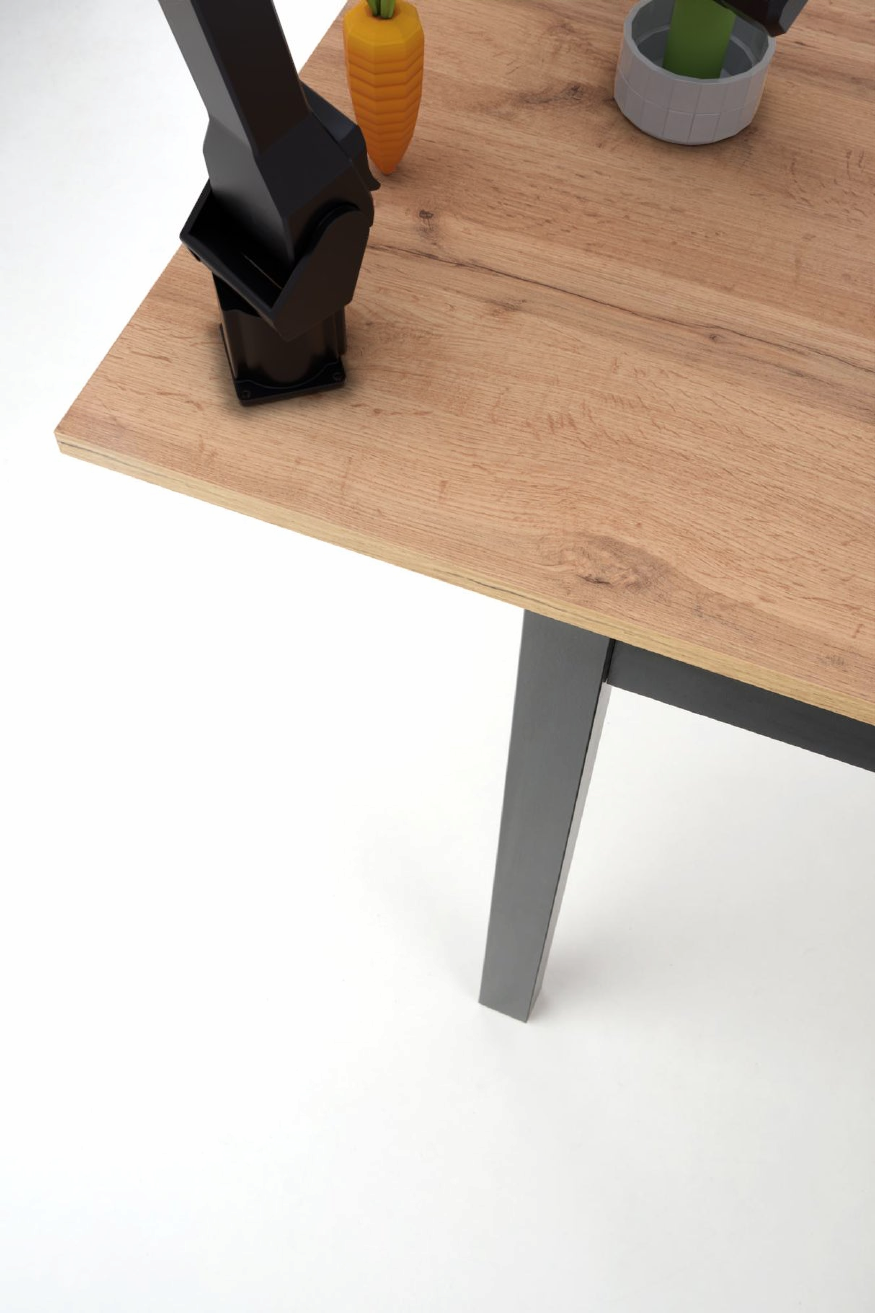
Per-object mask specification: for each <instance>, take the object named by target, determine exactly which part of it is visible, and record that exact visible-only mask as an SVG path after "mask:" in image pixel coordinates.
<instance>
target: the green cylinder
mask: <svg viewBox="0 0 875 1313" xmlns="http://www.w3.org/2000/svg"><path fill="white" fill-rule="evenodd" d="M735 17H736V14H734V13H733V12H732V11H731V10H729V9H726V8H724V7H722V6H721V5H719V4H717V3H716V2H714V1H713V0H676V1H675V6H674V11H673V16H672V20H671V25H670V30H669V35H668V39H667V44H666V49H665V54H664V59H663V63H662V68H663V69H665V70H668V71H670V72H672V73H674V74H677V75H681V76H687V77H692V78H698V79H718V78H720V74H721V71H722V67H723V63H724V59H725V55H726V51H727V47H728V44H729V40H730V36H731V32H732V28H733V24H734V21H735Z"/></svg>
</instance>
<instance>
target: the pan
mask: <svg viewBox="0 0 875 1313" xmlns="http://www.w3.org/2000/svg"><path fill="white" fill-rule="evenodd" d="M675 1H676V0H640V1H638V2H637V3H635V4H634V5H633V6H632V8H631V10H630V11H629V13H628V14H627V16H626V18H625V19H624V22H623V25H622V26H623V27H622V34H621V39H620V45H619V50H618V57H617V62H616V68H615V74H614V80H613V82H614V83H613V99H614V101H615V102H616V105H617V106H618V108H619V110H620V112H621V114H622V115H624V116H625V117H626V118H627V119H628V120H629V121H630V122H631V123H632V124H633V126H635V127H636V128H638V129H639V130H641V131H642V132H643V133H645V134H647V135H649V136H651V137H654V138H655V139H658V140H661V141H664V142H667V143H672V144H677V145H678V144H679V145H686V146H688V145H689V146H695V145H698V146H699V145H707V144H712V143H717V142H719V141H722V140H725V139H727V138H730V137H733V136H735V135H737V134H738V133H740V132H741V131H742V130H744V129H745V128H746V127H747V126H749V125H750V124H751V123H752V121H753V119H754V117H755V115H756V113H757V111H758V110H759V106H760V104H761V100H762V97H763V93H764V90H765V88H766V87H765V86H766V83H767V79H768V77H769V73H770V70H771V66H772V63H773V60H774V56H775V53H776V49H777V43H776V37H773V38H771V37H770V36H768V35H767V34H765V33H763V32H762V31H760V30H759V29H757V28H756V27H754V26H752V25H751V24H749V23H748V22H746V21H744V20H743V19H741V18H740V17H738V16H737V15H736V17H735V21H734V24H733V28H732V32H731V36H730V40H729V44H728V47H727V51H726V55H725V59H724V63H723V67H722V71H721V74H720V78H718V79H698V78H692V77H687V76H681V75H677V74H674V73H672V72H670V71H668V70H665V69H663V68H662V63H663V59H664V54H665V49H666V44H667V39H668V35H669V30H670V25H671V20H672V16H673V11H674V6H675Z"/></svg>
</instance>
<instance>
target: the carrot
mask: <svg viewBox="0 0 875 1313" xmlns="http://www.w3.org/2000/svg"><path fill="white" fill-rule="evenodd" d="M341 26H342V28H341V29H342V39H343V50H344V52H343V53H344V62H345V69H346V71H345V72H346V78H347V79H346V80H347V86H348V91H349V95H350V100H351V104H352V109H353V112H354V117H355V121H356V124H357V125H358V126H359V127H360V128H361V131H362V133H363V136H364V139H365V141H366V146H367V156H368V158H369V159H370V160H371V162H372V163H373V164H374V166H375V167H376V169H377V170H378V171H379V172H380V173H382V174H384V175H390V174H391V173H393V172H394V171H395V170H396V169H397V167H398V165H399V164H400V162H401V161H402V159H403V158H404V156H405V155H406V152H407V150H408V148H409V146H410V144H411V142H412V140H413V136H414V132H415V128H416V125H417V120H418V116H419V111H420V106H421V101H422V94H423V80H424V66H425V64H424V63H425V62H424V61H425V32H424V28H423V25H422V22H421V19H420V16H419V12H418V9H417V7H416V6H414V4H413V3H410V2H407V1H405V0H360V1H359V2H358V3H357V4H355V5H354V6H353V7H351V8H350V9H349V11H347V12H346V13H345V14H344V15H343V19H342V25H341Z"/></svg>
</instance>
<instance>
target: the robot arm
mask: <svg viewBox="0 0 875 1313" xmlns="http://www.w3.org/2000/svg"><path fill="white" fill-rule="evenodd" d="M713 1H714V2H716V3H717V4H719V5H721V6H722V7H724V8H726V9H729V10H731V11H732V12H733V13H734V14H736V15H737V16H738V17H740V18H741V19H743V20H744V21H746V22H748V23H749V24H751V25H752V26H754V27H756V28H757V29H759V30H760V31H762V32H763V33H765V34H767V35H768V36H770V37H771V38H773V37H775V38H776V37H779V36H782V35H786V34H787V33H788V31H789V30H790V28H791V27H792V26H793V24H794V23H795V21H796V20H797V18H798V17H799V15H800V14H801V12H802V11H803V9H804V8H805V7H806V5H807V4H808V2H809V0H713ZM157 2H158V4H159V6H160V9H161V11H162V13H163V15H164V18H165V19H166V23H167V25H168V26H169V29H170V31H171V34H172V35H173V38H174V40H175V43H176V44H177V47H178V48H179V51H180V54H181V55H182V58H183V60H184V62H185V65H186V67H187V69H188V71H189V73H190V75H191V78H192V80H193V82H194V85H195V87H196V89H197V92H198V94H199V96H200V98H201V100H202V102H203V105H204V108H205V109H206V113H207V116H208V123H207V126H206V130H205V133H204V139H203V142H202V155H203V159H204V163H205V166H206V171H207V175H208V178H207V181H206V183H205V184H204V186H203V187H202V190H201V192H200V194H199V195H198V198H197V200H196V201H195V203H194V205H193V206H192V210H191V211H190V213H189V215H188V216H187V218H186V221H185V222H184V224H183V226H182V228H181V230H180V232H179V236H178V238H179V240H180V242H181V243H182V244H183V246H184V247H185V248H186V249H187V251H188V252H189V253H190V255H191V256H192V258H194V259H195V260H196V261H197V262H199V263H202V264H203V265H204V266H205V267H206V268H207V269H208V270H209V271H210V272H211V277H212V280H213V286H214V291H215V296H216V302H217V306H218V307H217V308H218V311H219V316H220V324H219V332H220V336H221V340H222V345H223V348H224V352H225V355H226V359H227V363H228V368H229V371H230V376H231V379H232V383H233V387H234V391H235V395H236V399H237V402H238V404H239V405H241V406H242V407H249V406H254V405H260V404H265V403H269V402H274V401H278V400H279V401H280V400H285V399H289V398H294V397H299V396H304V395H309V394H314V393H315V394H316V393H319V392H325V391H329V390H334V389H340V388H342V387H344V386H345V385H346V384H347V374H346V370H345V367H344V364H343V361H342V357H341V356H345V355H346V354H347V352H348V338H347V326H346V324H347V323H346V309H345V307H346V306H348V305H350V303H351V302H352V301H353V298H354V294H355V291H356V288H357V283H358V280H359V276H360V271H361V269H362V265H363V260H364V256H365V252H366V249H367V245H368V241H369V237H370V231H371V228H372V227H373V226H374V221H375V212H376V209H375V200H374V196H373V195H372V192H374V191H379V190H380V188H381V187H382V183H381V182H380V181H379V180H378V179H377V178H375V177H374V175H373V173H372V171H371V168H370V165H369V164H370V163H369V155H368V153H367V146H366V141H365V139H364V136H363V133H362V131H361V128H360V127H359V126H358V125H357V122H354V121H353V119H351V118H349V117H348V116H347V115H346V114H345V113H343V112H342V111H341V110H340V109H338V108H337V107H336V106H335V105H333V104H332V103H331V102H329V100H327V99H326V98H325V97H323V96H322V95H320V94H319V92H317V91H315V90H314V89H313V88H312V87H311V86H309V84H307V83H305V82H304V80H302V79H300V76H299V73H298V70H297V68H296V64H295V61H294V57H293V55H292V52H291V49H290V46H289V44H288V41H287V37H286V34H285V31H284V29H283V26H282V23H281V19H280V17H279V14H278V11H277V8H276V5H275V1H274V0H157Z"/></svg>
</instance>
